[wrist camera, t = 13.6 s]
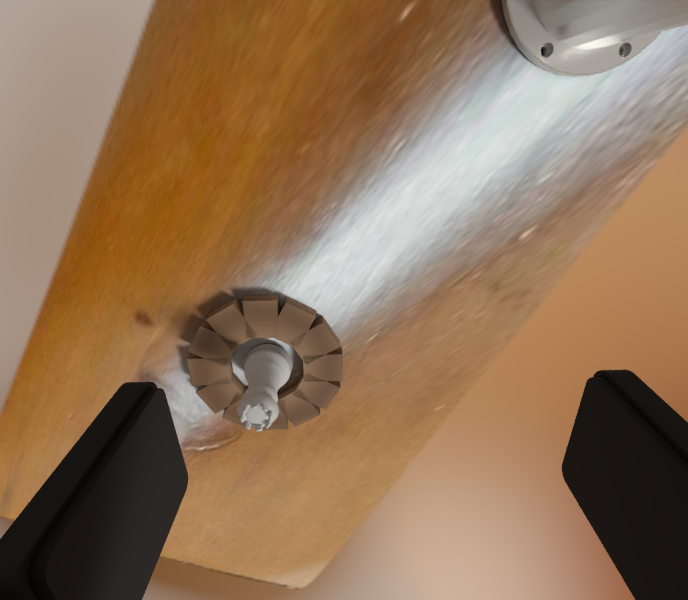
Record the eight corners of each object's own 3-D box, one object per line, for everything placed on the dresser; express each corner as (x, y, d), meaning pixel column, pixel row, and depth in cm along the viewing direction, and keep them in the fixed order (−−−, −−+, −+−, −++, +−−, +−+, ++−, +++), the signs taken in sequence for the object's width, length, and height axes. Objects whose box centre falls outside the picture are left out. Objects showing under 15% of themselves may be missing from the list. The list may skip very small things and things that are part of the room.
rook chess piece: (244, 379, 38) (226, 439, 31) (246, 338, 37) (226, 392, 29) (291, 382, 39) (283, 442, 32) (294, 343, 37) (287, 397, 30)
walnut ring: (341, 293, 35) (341, 298, 34) (342, 418, 41) (342, 426, 40) (180, 297, 35) (175, 302, 34) (204, 423, 40) (201, 432, 39)
